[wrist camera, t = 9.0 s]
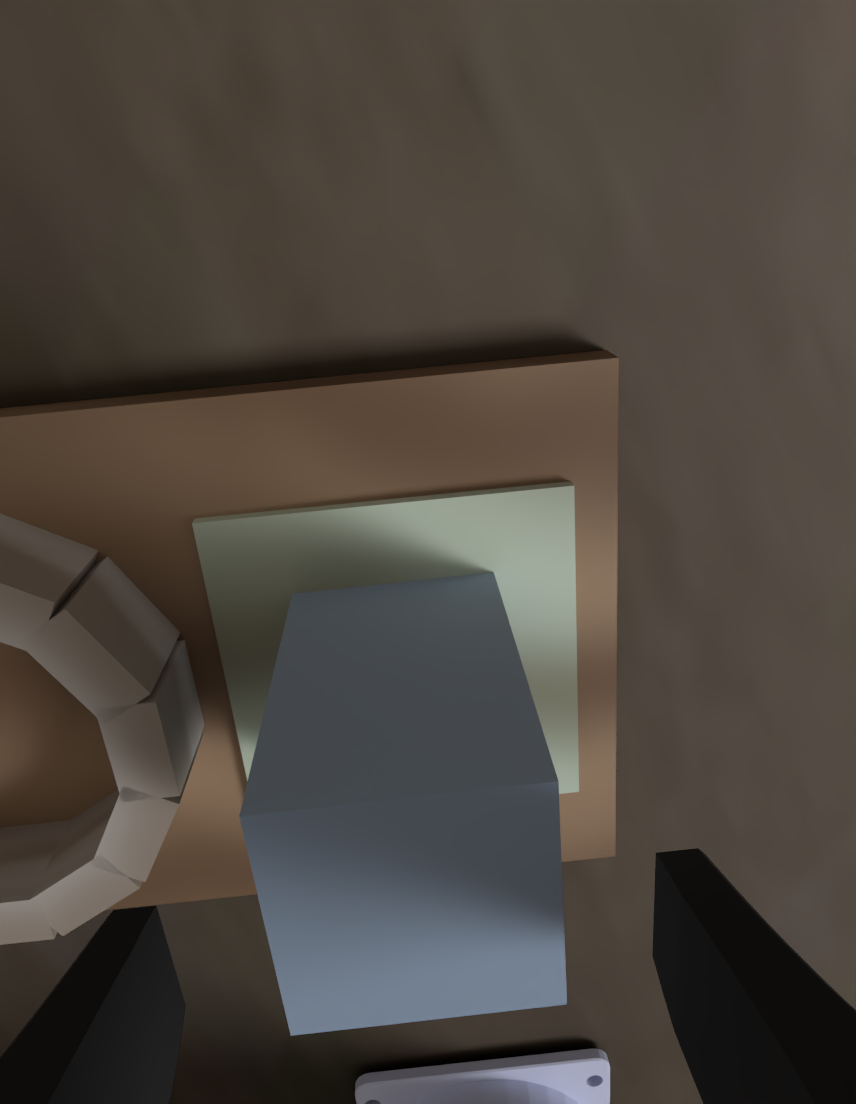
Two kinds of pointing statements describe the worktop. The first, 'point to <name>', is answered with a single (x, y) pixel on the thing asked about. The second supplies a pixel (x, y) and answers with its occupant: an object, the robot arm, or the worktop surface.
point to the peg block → (405, 811)
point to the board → (274, 598)
